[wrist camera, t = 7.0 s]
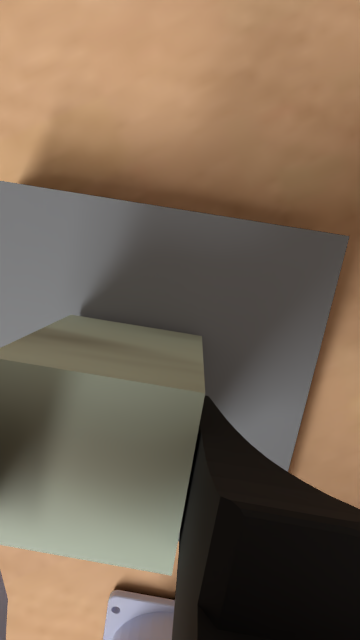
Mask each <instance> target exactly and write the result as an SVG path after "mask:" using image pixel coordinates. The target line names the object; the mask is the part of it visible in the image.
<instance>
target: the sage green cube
mask: <svg viewBox="0 0 360 640" xmlns="http://www.w3.org/2000/svg"><path fill="white" fill-rule="evenodd" d="M204 397H205V381H204V363H203V346H202V336H199V335H192V334H186V333H180V332H174V331H168V330H162V329H156V328H150V327H144V326H137V325H131V324H125V323H119V322H113V321H107V320H101V319H95V318H89V317H82V316H76V315H69V316H67V317H65V318H63V319H61V320H58V321H56V322H54V323H52V324H50V325H48V326H46V327H44V328H41V329H39V330H37V331H35V332H33V333H31V334H29V335H27V336H24V337H22V338H20V339H18V340H16V341H14V342H12V343H10V344H7V345H5V346H3V347H1V348H0V545H4V546H10V547H16V548H21V549H27V550H32V551H38V552H43V553H49V554H54V555H60V556H66V557H71V558H77V559H82V560H88V561H93V562H99V563H104V564H110V565H115V566H121V567H127V568H132V569H138V570H143V571H149V572H154V573H160V574H165V575H171V576H172V571H173V565H174V560H175V554H176V549H177V544H178V538H179V533H180V527H181V522H182V516H183V511H184V506H185V500H186V495H187V489H188V484H189V478H190V473H191V468H192V462H193V457H194V451H195V446H196V440H197V435H198V430H199V424H200V419H201V413H202V408H203V402H204Z"/></svg>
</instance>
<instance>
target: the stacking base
mask: <svg viewBox="0 0 360 640" xmlns="http://www.w3.org/2000/svg"><path fill="white" fill-rule="evenodd" d="M348 240H349V236H345V235H339V234H332V233H326V232H320V231H313V230H307V229H301V228H294V227H288V226H282V225H276V224H269V223H263V222H257V221H250V220H244V219H238V218H231V217H225V216H219V215H212V214H206V213H200V212H193V211H187V210H181V209H175V208H168V207H162V206H156V205H149V204H143V203H137V202H130V201H124V200H118V199H111V198H105V197H99V196H92V195H86V194H80V193H74V192H67V191H61V190H55V189H48V188H42V187H36V186H29V185H23V184H17V183H10V182H4V181H0V348H1V347H3V346H5V345H7V344H10V343H12V342H14V341H16V340H18V339H20V338H22V337H24V336H27V335H29V334H31V333H33V332H35V331H37V330H39V329H41V328H44V327H46V326H48V325H50V324H52V323H54V322H56V321H58V320H61V319H63V318H65V317H67V316H69V315H76V316H82V317H89V318H95V319H101V320H107V321H113V322H119V323H125V324H131V325H137V326H144V327H150V328H156V329H162V330H168V331H174V332H180V333H186V334H192V335H199V336H202V346H203V363H204V381H205V395H206V396H209V397H210V398H211V400H212V401H213V402H214V404H215V405H216V406H217V408H218V409H219V410H220V412H221V413H222V414H223V415H224V417H225V418H226V419H227V420H228V421H229V423H230V424H231V425H232V426H233V427H234V428H235V429H236V430H237V431H238V432H239V433H240V434H241V435H242V436H243V437H244V438H245V439H246V440H247V441H248V442H249V443H250V444H251V445H252V446H254V447H255V448H256V449H257V450H258V451H260V452H261V453H262V454H263V455H264V456H266V457H267V458H268V459H270V460H271V461H272V462H274V463H275V464H277V465H278V466H280V467H281V468H283V469H284V470H286V471H287V472H288V469H289V466H290V462H291V458H292V454H293V450H294V447H295V443H296V439H297V435H298V431H299V427H300V424H301V420H302V416H303V412H304V408H305V404H306V401H307V397H308V393H309V389H310V385H311V382H312V378H313V374H314V370H315V366H316V362H317V359H318V355H319V351H320V347H321V343H322V339H323V336H324V332H325V328H326V324H327V320H328V316H329V313H330V309H331V305H332V301H333V297H334V294H335V290H336V286H337V282H338V278H339V274H340V271H341V267H342V263H343V259H344V255H345V251H346V248H347V244H348ZM179 536H180V534H179ZM178 541H179V538H178Z"/></svg>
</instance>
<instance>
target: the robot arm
mask: <svg viewBox="0 0 360 640" xmlns="http://www.w3.org/2000/svg"><path fill="white" fill-rule="evenodd" d="M179 534H180V536H179V558H178V570H177V582H176V594H175V600H172V599H166V598H161V597H155V596H150V595H144V594H139V593H133V592H128V591H122V590H114V591H112V592H111V594H110V597H109V601H108V608H107V615H106V622H105V629H104V636H103V640H360V509H358V508H356V507H353V506H351V505H349V504H347V503H345V502H342V501H340V500H338V499H336V498H333V497H331V496H329V495H327V494H325V493H323V492H322V491H320V490H318V489H316V488H314V487H312V486H311V485H309V484H307V483H305V482H303V481H302V480H300V479H298V478H297V477H295V476H293V475H292V474H290V473H289V472H287V471H286V470H284V469H283V468H281V467H280V466H278V465H277V464H275V463H274V462H272V461H271V460H270V459H268V458H267V457H266V456H264V455H263V454H262V453H261V452H260V451H258V450H257V449H256V448H255V447H254V446H252V445H251V444H250V443H249V442H248V441H247V440H246V439H245V438H244V437H243V436H242V435H241V434H240V433H239V432H238V431H237V430H236V429H235V428H234V427H233V426H232V425H231V424H230V423H229V421H228V420H227V419H226V418H225V417H224V415H223V414H222V413H221V412H220V410H219V409H218V408H217V406H216V405H215V404H214V402H213V401H212V400H211V398H210V397H209V396H206V395H205V397H204V402H203V408H202V413H201V419H200V424H199V430H198V435H197V440H196V446H195V451H194V457H193V462H192V468H191V473H190V478H189V484H188V489H187V495H186V500H185V506H184V511H183V516H182V522H181V527H180V533H179ZM7 603H8V598H7V594H6V590H5V587H4V583H3V579H2V575H1V571H0V640H6V621H7Z"/></svg>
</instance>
